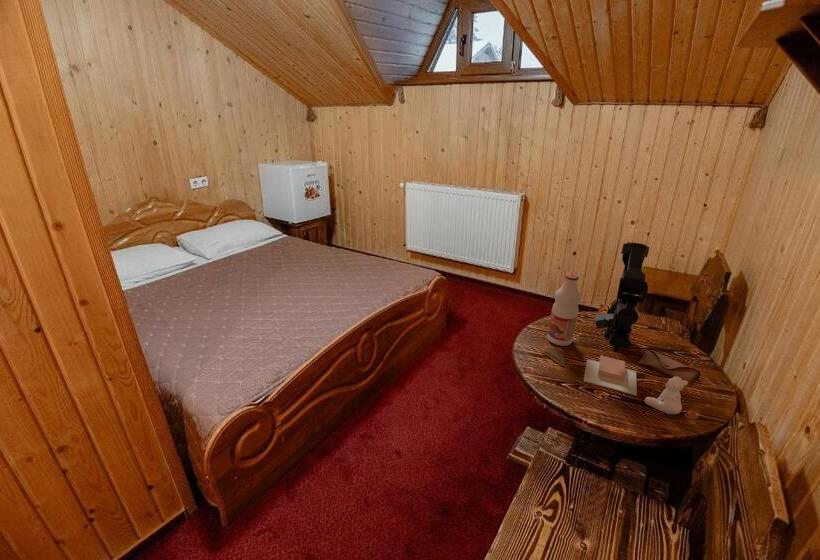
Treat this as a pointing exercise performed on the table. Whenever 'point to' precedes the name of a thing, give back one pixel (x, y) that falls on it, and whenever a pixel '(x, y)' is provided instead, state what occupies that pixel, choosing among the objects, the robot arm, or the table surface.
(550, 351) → the shard
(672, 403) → the sitting furry creature
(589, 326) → the table surface
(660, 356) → the sunglasses case
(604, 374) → the glazed tile
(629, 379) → the felt mat
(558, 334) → the fruit juice
